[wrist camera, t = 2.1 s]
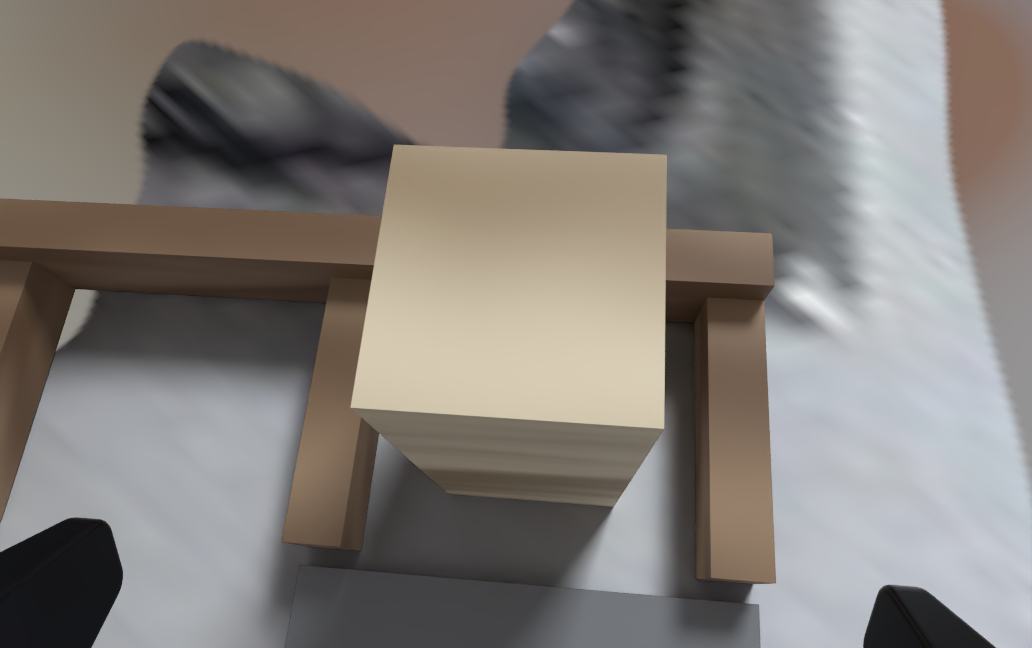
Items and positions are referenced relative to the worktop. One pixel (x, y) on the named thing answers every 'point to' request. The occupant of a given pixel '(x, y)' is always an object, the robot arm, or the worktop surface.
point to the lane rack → (345, 289)
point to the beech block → (519, 320)
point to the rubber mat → (501, 615)
